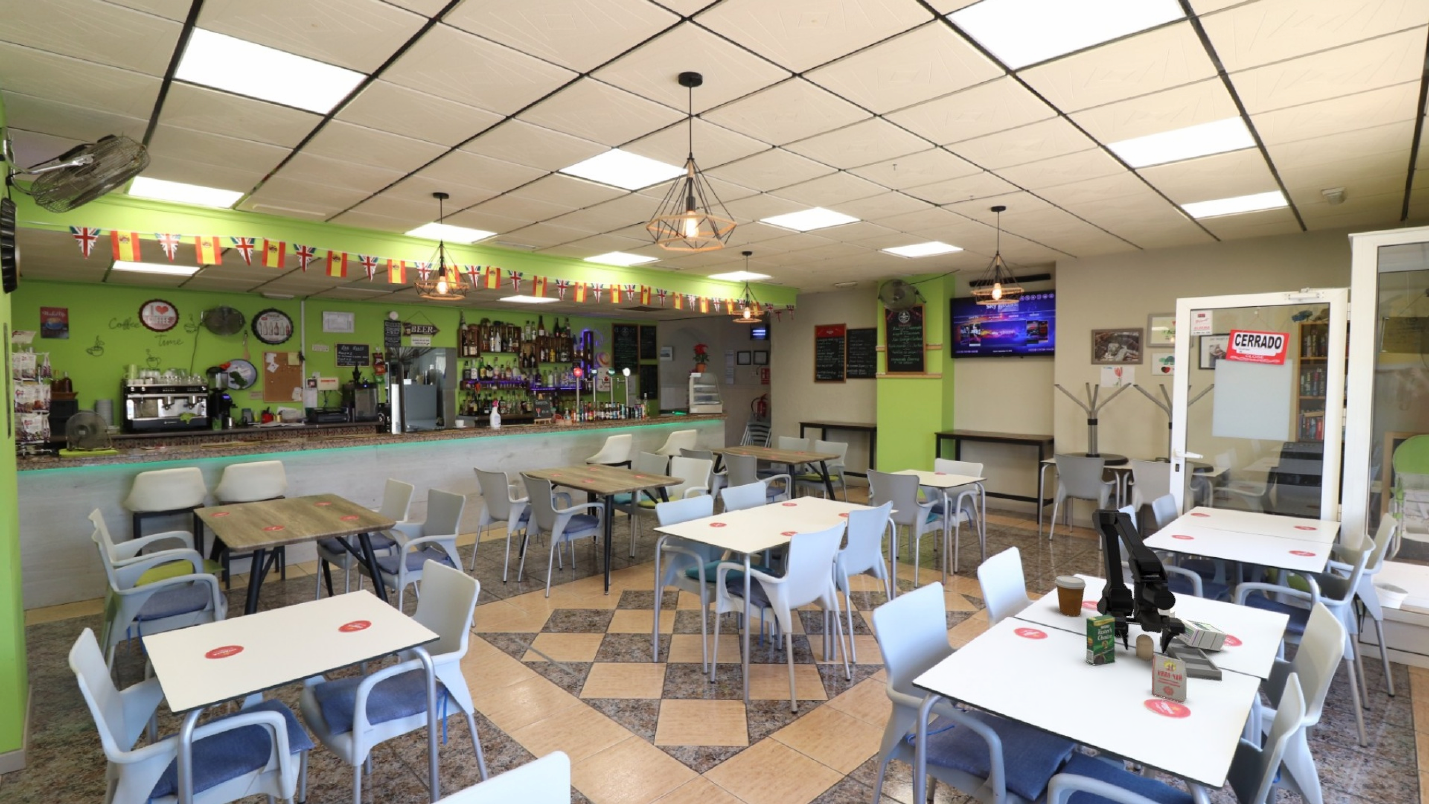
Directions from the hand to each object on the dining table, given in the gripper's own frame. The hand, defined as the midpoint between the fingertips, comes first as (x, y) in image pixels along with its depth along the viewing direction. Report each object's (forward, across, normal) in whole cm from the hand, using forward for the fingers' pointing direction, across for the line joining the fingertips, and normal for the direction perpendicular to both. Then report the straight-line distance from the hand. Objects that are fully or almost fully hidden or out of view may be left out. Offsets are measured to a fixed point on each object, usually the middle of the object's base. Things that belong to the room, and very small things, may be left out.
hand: (1144, 651), depth 197 cm
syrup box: (-2, +22, +13) cm, 26 cm away
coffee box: (+2, -13, -8) cm, 15 cm away
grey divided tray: (+2, +11, 0) cm, 11 cm away
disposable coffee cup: (+2, -14, +34) cm, 37 cm away
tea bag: (+2, -1, -26) cm, 26 cm away
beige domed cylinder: (+2, 0, 0) cm, 2 cm away
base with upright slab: (+2, +11, +29) cm, 31 cm away
